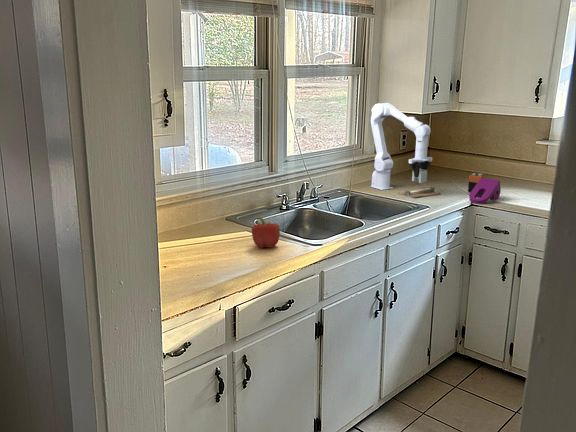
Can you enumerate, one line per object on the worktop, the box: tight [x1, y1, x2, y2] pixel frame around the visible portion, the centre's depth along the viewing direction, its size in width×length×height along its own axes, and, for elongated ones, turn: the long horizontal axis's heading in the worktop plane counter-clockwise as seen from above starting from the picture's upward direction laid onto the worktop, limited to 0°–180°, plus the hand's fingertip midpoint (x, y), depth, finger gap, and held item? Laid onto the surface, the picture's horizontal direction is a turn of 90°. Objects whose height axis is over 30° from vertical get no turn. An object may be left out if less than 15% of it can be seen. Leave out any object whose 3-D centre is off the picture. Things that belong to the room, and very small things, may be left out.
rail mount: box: [398, 186, 441, 199], centre depth 296 cm, size 11×18×3 cm, turn 123°
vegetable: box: [251, 216, 280, 249], centre depth 212 cm, size 11×10×10 cm
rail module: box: [411, 168, 428, 184], centre depth 294 cm, size 6×4×6 cm, turn 33°
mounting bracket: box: [468, 177, 502, 205], centre depth 286 cm, size 9×8×18 cm
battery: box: [467, 172, 486, 193], centre depth 300 cm, size 4×7×10 cm, turn 49°
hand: (419, 176), depth 294 cm, fingers closed on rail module, 4 cm apart
